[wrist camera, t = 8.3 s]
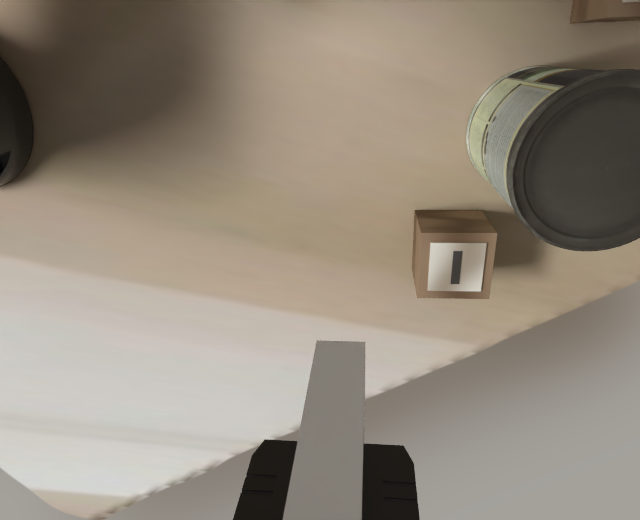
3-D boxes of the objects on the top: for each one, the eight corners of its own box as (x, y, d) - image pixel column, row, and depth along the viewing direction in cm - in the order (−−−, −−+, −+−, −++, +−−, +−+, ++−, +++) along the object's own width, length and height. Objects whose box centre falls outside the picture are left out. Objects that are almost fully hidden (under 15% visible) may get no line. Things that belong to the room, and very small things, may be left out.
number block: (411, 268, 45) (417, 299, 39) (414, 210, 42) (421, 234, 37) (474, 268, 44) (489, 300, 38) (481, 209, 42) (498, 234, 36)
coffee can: (565, 37, 35) (676, 27, 22) (610, 151, 38) (729, 200, 26) (443, 109, 38) (479, 136, 26) (493, 210, 41) (548, 279, 29)
